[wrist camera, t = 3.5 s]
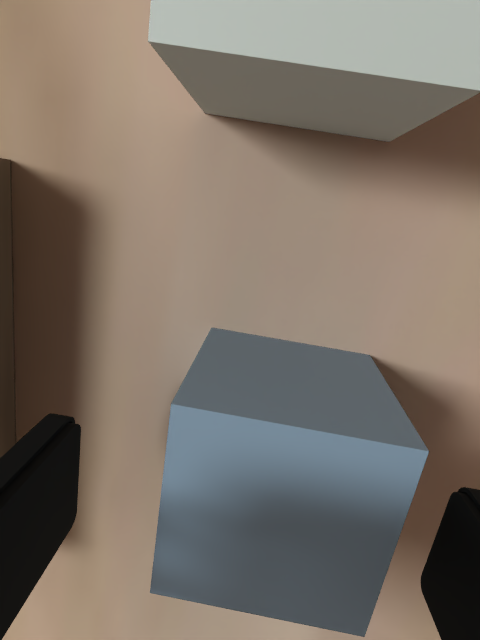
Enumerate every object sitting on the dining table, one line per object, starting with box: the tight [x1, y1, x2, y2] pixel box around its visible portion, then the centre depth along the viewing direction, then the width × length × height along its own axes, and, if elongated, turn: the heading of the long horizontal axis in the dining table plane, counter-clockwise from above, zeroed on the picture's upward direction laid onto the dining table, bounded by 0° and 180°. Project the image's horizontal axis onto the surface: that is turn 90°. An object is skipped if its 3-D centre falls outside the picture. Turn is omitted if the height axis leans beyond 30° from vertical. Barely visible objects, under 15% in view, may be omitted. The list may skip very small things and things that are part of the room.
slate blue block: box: [150, 328, 429, 637], centre depth 11 cm, size 5×5×5 cm
